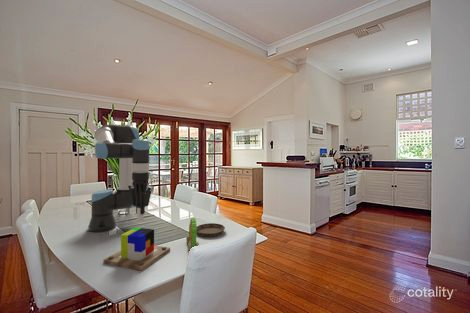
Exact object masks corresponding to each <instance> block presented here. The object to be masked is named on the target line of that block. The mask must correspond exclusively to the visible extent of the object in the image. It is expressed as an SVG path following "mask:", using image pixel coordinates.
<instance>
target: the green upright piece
mask: <svg viewBox="0 0 470 313" xmlns="http://www.w3.org/2000/svg"><path fill="white" fill-rule="evenodd" d="M188 226H189V227H188V235H186V238H185V239H186V244H187V250H188V251H189V250H190V249H191V248H192V247H194V246H198V245H199V244H200V243H199V241H197V235H198V233H197V220H196V217H191V218H190V221H189V225H188ZM199 246H200V245H199ZM191 250H192V249H191ZM189 252H190V251H189Z"/></svg>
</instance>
